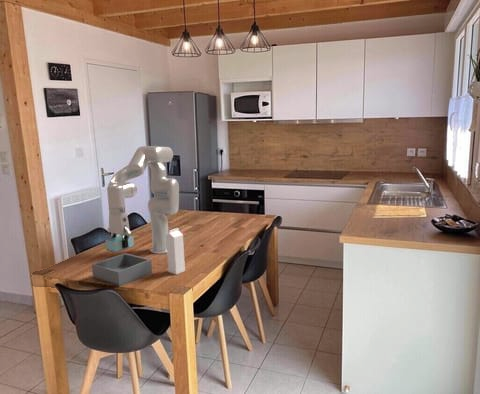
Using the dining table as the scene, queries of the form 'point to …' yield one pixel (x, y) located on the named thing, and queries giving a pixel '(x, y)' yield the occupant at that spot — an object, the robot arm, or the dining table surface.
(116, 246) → the small crate
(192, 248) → the dining table surface
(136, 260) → the large crate
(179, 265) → the milk
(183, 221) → the dining table surface
